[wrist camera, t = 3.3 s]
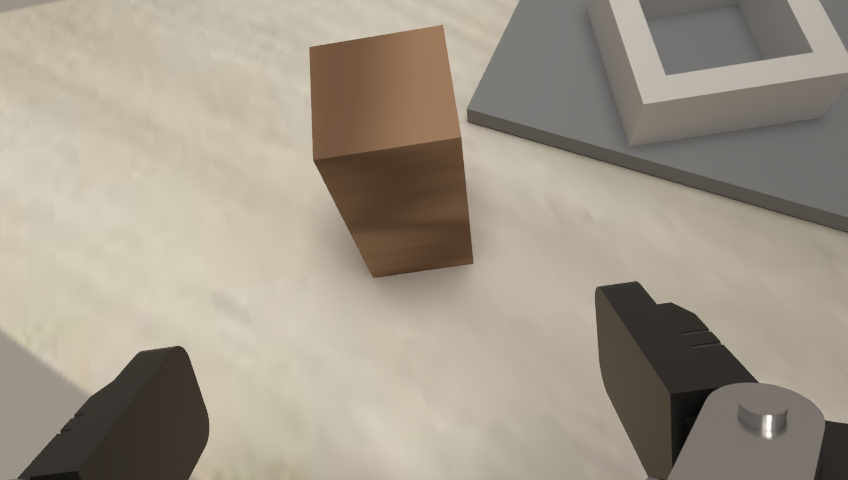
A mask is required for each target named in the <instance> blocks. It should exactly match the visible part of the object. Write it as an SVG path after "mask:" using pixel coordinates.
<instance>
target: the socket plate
mask: <svg viewBox="0 0 848 480" xmlns="http://www.w3.org/2000/svg"><path fill="white" fill-rule="evenodd" d="M467 116H468V122H471V123H475V124H478V125H482V126H485V127H489V128H492V129H496V130H499V131H502V132H506V133H509V134H513V135H516V136H520V137H523V138H526V139H530V140H533V141H537V142H540V143H544V144H547V145H551V146H554V147H557V148H561V149H564V150H568V151H571V152H575V153H578V154H581V155H585V156H588V157H592V158H595V159H599V160H602V161H605V162H609V163H612V164H616V165H619V166H623V167H626V168H630V169H633V170H636V171H640V172H643V173H647V174H650V175H654V176H657V177H660V178H664V179H667V180H671V181H674V182H678V183H681V184H685V185H688V186H691V187H695V188H698V189H702V190H705V191H709V192H712V193H715V194H719V195H722V196H726V197H729V198H733V199H736V200H740V201H743V202H746V203H750V204H753V205H757V206H760V207H764V208H767V209H770V210H774V211H777V212H781V213H784V214H788V215H791V216H795V217H798V218H801V219H805V220H808V221H812V222H815V223H819V224H822V225H825V226H829V227H832V228H836V229H839V230H843V231H846V232H848V0H520V1H519V3H518V5H517V7H516V9H515V11H514V13H513V15H512V17H511V19H510V21H509V23H508V25H507V28H506V30H505V32H504V34H503V36H502V38H501V40H500V42H499V44H498V46H497V48H496V50H495V52H494V54H493V56H492V58H491V60H490V62H489V64H488V66H487V69H486V71H485V73H484V75H483V77H482V79H481V81H480V83H479V85H478V87H477V89H476V91H475V93H474V95H473V97H472V99H471V101H470V103H469V105H468V108H467Z"/></svg>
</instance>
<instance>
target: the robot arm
mask: <svg viewBox="0 0 848 480" xmlns="http://www.w3.org/2000/svg"><path fill="white" fill-rule="evenodd" d="M595 307H596V321H597V335H598V349H599V362H600V369H601V374H602V378H603V382H604V386H605V389H606V391H607V394H608V396H609V398H610V400H611V402H612V404H613V406H614V408H615V410H616V412H617V414H618V416H619V418H620V420H621V422H622V424H623V426H624V428H625V430H626V432H627V434H628V436H629V439H630V441H631V443H632V445H633V447H634V449H635V451H636V453H637V455H638V457H639V459H640V461H641V463H642V465H643V467H644V469H645V471H646V473H647V475H648V478H647V479H646V480H848V424H846V423H837V422H831V421H826V420H825V419H824V416H823V414H822V413H821V411H820V409H819V408H818V407H817V406H816V405H815V404H814V403H812V402H811V401H810V400H808V399H807V398H805V397H803V396H802V395H800V394H798V393H796V392H793V391H791V390H788V389H785V388H782V387H779V386H775V385H770V384H763V383H759V382H758V381H757V380H756V379H755V378H754V377H753V376H752V375H751V374H750V373H749V372H748V371H747V370H746V368H745V367H744V366H743V365H742V364H741V363H740V362H739V361H738V360H737V359H736V358H735V357H734V356H733V354H732V353H731V352H730V351H729V350H728V349H727V348H726V347H725V346H724V345H721V343H720V340H719V339H718V338H717V337H716V336H715V335H714V334H713V333H712V332H709V329H708V328H707V326H706V325H705V324H704V323H703V322H702V321H701V320H700V319H699V318H698V317H697V316H696V315H695V314H694V313H692V312H690V311H688V310H686V309H684V308H682V307H680V306H677V305H675V304H673V303H664V304H656V303H655V302H654V300H653V299H652V298H651V297H650V295H649V294H648V293H647V292H646V291H645V289H644V288H643V287H642V286H641V285H640V283H639V282H637V281H635V282H628V283H621V284H614V285H607V286H600V287H597V288H596V291H595ZM208 436H209V418H208V413H207V410H206V407H205V404H204V401H203V398H202V395H201V392H200V388H199V385H198V382H197V379H196V376H195V373H194V370H193V367H192V364H191V361H190V358H189V356H188V354H187V352H186V351H185V349H184V348H183V347H181V346H174V347H167V348H160V349H153V350H146V351H141V352H139V353H138V354H137V355H136V356H135V357H134V358H133V359H132V360H131V361H130V363H129V364H128V365H127V366H126V367H125V368H124V369H123V371H122V372H121V373H120V374H119V375H118V376H117V377H116V379H115V380H114V381H112V382H111V383H110V384H108V385H107V386H105V387H104V388H102V389H101V390H100V391H98V392H97V393H95V394H94V395H92V396H91V397H90V398H89V399H88V400H87V401H86V403H85V404H84V405H83V406H82V407H81V408H80V409H79V410H78V411H77V413H76V414H75V415H74V418H73V419H70V420H69V422H68V423H67V424H66V425H65V426H64V427H63V428H62V429H61V434H57V435H56V436H55V437H54V438H53V439H52V440H51V442H49V444H48V445H47V446H46V447H45V448H44V449H43V450H42V452H41V453H40V454H39V455H38V456H37V457H36V458H35V459H34V460H33V461H32V463H31V464H30V465H29V466H28V467H27V468H26V469H25V470H24V472H23V473H22V474H21V475H20V476H19V477H18V478H17V479H12V480H188V479H189V477H190V475H191V473H192V472H193V470H194V468H195V466H196V464H197V462H198V460H199V458H200V456H201V454H202V452H203V450H204V449H205V446H206V444H207V441H208Z"/></svg>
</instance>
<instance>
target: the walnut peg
mask: <svg viewBox="0 0 848 480" xmlns="http://www.w3.org/2000/svg"><path fill="white" fill-rule="evenodd" d="M309 49H310V78H311V108H312V138H313V161H314V163H315V165H316V166H317V168H318V170H319V172H320V174H321V176H322V178H323V180H324V182H325V184H326V186H327V188H328V190H329V192H330V194H331V196H332V198H333V200H334V202H335V204H336V206H337V208H338V210H339V212H340V214H341V215H342V217H343V219H344V221H345V223H346V225H347V227H348V229H349V231H350V233H351V235H352V237H353V239H354V241H355V243H356V245H357V247H358V249H359V251H360V253H361V255H362V257H363V259H364V261H365V263H366V264H367V266H368V268H369V270H370V272H371V274H372V276H373V278H375V277H382V276H389V275H396V274H403V273H410V272H417V271H424V270H431V269H438V268H445V267H452V266H459V265H466V264H473V255H472V244H471V234H470V224H469V213H468V203H467V193H466V182H465V172H464V162H463V151H462V141H461V133H460V127H459V121H458V115H457V109H456V103H455V97H454V90H453V84H452V78H451V72H450V66H449V60H448V54H447V48H446V41H445V35H444V29H443V25H440V26H434V27H428V28H422V29H416V30H410V31H404V32H398V33H392V34H386V35H380V36H374V37H368V38H362V39H356V40H350V41H344V42H338V43H332V44H326V45H320V46H314V47H309Z"/></svg>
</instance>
